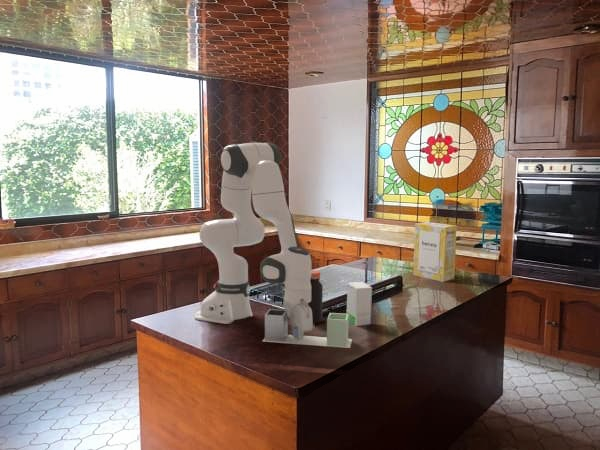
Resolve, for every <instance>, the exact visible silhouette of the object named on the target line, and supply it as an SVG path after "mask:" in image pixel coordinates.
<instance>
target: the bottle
mask: <svg viewBox="0 0 600 450" xmlns="http://www.w3.org/2000/svg"><path fill="white" fill-rule="evenodd" d="M320 280H321V271H319V270H311V278H310V283H311V302H309V303H308V306H309V307H310V308H311V310H312V319H313V325H314V324H320V323H322V322H323V288H324V287H323V284H322V283H321V281H320Z"/></svg>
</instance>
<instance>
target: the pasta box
mask: <svg viewBox="0 0 600 450" xmlns="http://www.w3.org/2000/svg"><path fill="white" fill-rule="evenodd" d="M457 226H458V225H456V224H455V225H454V224H449V223H448V224H446V223H438V222H429V221H424V222H418V223H417V222H416V223H414V246H413V247H414V249H413V270H412V271H413V274H412V275H413V276H415V277H420V278H424V279H429V280H434V281H437V282H442V283H443V282H447V281H451V280H454V279H455V275H456V274H455V273H456V271H455V270H456V253H457V252H456V251H457V232H458V231H457V230H458V229H457V228H458V227H457Z"/></svg>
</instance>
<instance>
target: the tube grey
mask: <svg viewBox="0 0 600 450" xmlns="http://www.w3.org/2000/svg"><path fill="white" fill-rule="evenodd" d="M288 318H289V317H288V310H284V309H275V308H274V309H272V308H269V309H268V311H266V313H265V314H264V338H265V341H275V342H274V343H277V342H284V341H285V339H286V337H287V335H289V334H288V332H289V328H288Z"/></svg>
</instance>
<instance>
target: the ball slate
mask: <svg viewBox="0 0 600 450" xmlns="http://www.w3.org/2000/svg"><path fill="white" fill-rule="evenodd" d="M298 330H299V329H298V327H295V328H294V329H293V331H291V332H292V333H291V335H293V337H294V338H296V339H299V338H298V337H297V332H298Z"/></svg>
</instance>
